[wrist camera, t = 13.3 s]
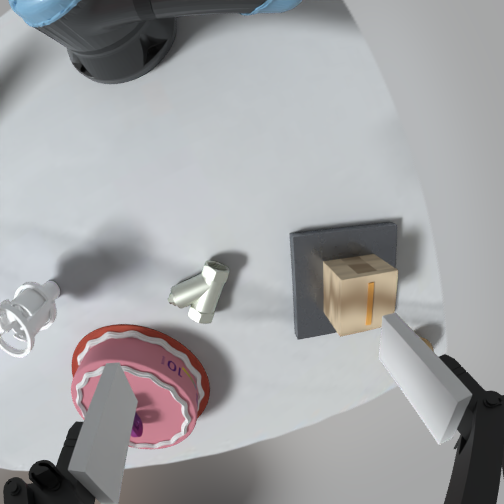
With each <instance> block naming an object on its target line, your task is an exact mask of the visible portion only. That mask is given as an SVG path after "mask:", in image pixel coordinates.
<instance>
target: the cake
mask: <svg viewBox="0 0 504 504" xmlns="http://www.w3.org/2000/svg"><path fill="white" fill-rule="evenodd" d="M118 362H120V365H121V367H122V369H123V371H124V373H125V376H126V378H127V380H128V382H129V384H130V386H131V388H132V390H133V393H134V395H135V397H136V399H137V401H138V403H137V407H136V412H135V417H134V421H133V426H132V431H131V436H130V441H129V447H134V448H140V449H161V448H166V447H170V446H173V445H175V444H178V443H180V442H181V441H183V440H184V439H186V438H187V437H188V436H189V435H190V434H191V432H192V431H193V429H194V427H195V424H196V421H197V418H198V417H199V416H200V415H201V414H202V412H203V411H204V409H205V407H206V405H207V403H208V399H209V394H210V386H209V380H208V377H207V374H206V372H205V370H204V368H203V366H202V365H201V363H200V362H199V360H198V359H197V358H196V357H195V356H194V355H193V353H192V352H191V351H189V350H188V349H187V348H186V347H185V346H183V345H182V344H181V343H179V342H178V341H176V340H175V339H173V338H171V337H169V336H167V335H165V334H163V333H161V332H159V331H156V330H153V329H150V328H146V327H142V326H137V325H127V324H119V325H110V326H105V327H102V328H99V329H96V330H94V331H92V332H91V333H89V334H88V335H86V336H85V337H84V338H83V339H82V340H81V341H80V342H79V344H78V345H77V347H76V349H75V351H74V354H73V358H72V374H73V381H72V386H71V394H72V399H73V402H74V405H75V407H76V409H77V411H78V412H79V414H80V415H81V417H82V418H83V419H85V416H86V414H87V411H88V408H89V406H90V403H91V400H92V398H93V395H94V392H95V390H96V387H97V385H98V382H99V380H100V377H101V375H102V372H103V370H104V367H105V365H106V363H118Z"/></svg>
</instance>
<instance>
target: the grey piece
mask: <svg viewBox="0 0 504 504" xmlns="http://www.w3.org/2000/svg"><path fill="white" fill-rule="evenodd" d="M396 245H397V225H396V224H394V223H392V222H386V223H377V224H368V225H359V226H350V227H341V228H332V229H323V230H315V231H306V232H297V233H290V247H291V263H292V281H293V302H294V325H295V334H296V337H297V339H304V338H310V337H315V336H320V335H326V334H331V333H336V332H337V331H336V330H335V328H334V327H333V325H332V324H331V322H330V321H329V319H328V318H327V316H326V315H325V313H324V283H323V261H329V260H336V259H343V258H350V257H357V256H363V255H370V254H375V255H376V256H378V257H379V258H381V259H382V260H384V261H385V262H387V263H388V264H390V265H391V266H393V267H394V268H395V265H396Z"/></svg>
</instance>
